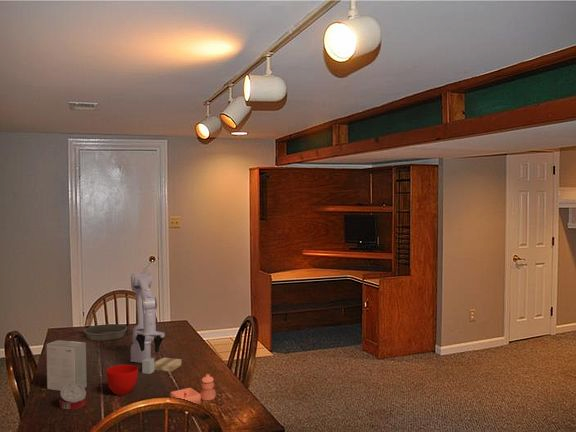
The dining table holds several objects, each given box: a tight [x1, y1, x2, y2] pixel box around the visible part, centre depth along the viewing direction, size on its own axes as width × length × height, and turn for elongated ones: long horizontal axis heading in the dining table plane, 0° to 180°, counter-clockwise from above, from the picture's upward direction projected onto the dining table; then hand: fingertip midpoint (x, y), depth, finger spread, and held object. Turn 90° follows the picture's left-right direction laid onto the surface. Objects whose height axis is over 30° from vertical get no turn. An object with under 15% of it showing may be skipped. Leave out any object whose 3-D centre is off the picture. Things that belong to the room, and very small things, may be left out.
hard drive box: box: [45, 339, 88, 392], centre depth 241 cm, size 16×8×20 cm, turn 71°
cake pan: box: [83, 323, 128, 341], centre depth 330 cm, size 25×25×4 cm
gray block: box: [141, 358, 155, 375], centre depth 264 cm, size 4×4×6 cm
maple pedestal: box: [154, 357, 182, 372], centre depth 271 cm, size 10×10×3 cm
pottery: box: [169, 373, 217, 405], centre depth 228 cm, size 18×10×10 cm, turn 125°
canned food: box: [59, 381, 87, 411], centre depth 223 cm, size 11×10×10 cm
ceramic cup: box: [105, 364, 139, 396], centre depth 238 cm, size 13×17×10 cm
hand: (149, 351), depth 264 cm, fingers open, 7 cm apart
